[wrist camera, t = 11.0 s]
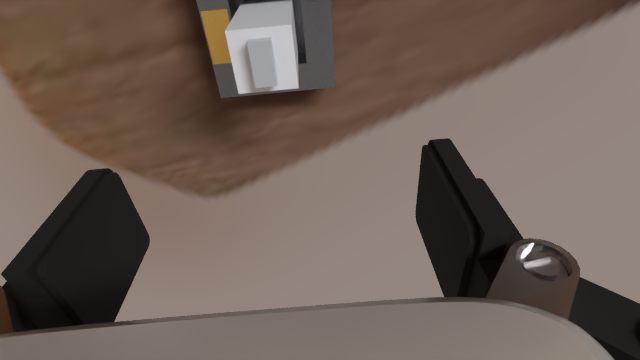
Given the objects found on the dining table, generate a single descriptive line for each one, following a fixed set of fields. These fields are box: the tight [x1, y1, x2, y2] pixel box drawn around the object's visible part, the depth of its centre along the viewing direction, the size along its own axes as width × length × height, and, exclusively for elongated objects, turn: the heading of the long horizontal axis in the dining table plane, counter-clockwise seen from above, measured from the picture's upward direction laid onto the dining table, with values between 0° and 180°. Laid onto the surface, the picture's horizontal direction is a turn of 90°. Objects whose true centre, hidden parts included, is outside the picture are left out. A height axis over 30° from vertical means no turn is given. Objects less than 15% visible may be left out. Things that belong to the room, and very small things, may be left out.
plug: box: [225, 0, 299, 94], centre depth 27 cm, size 4×4×11 cm
